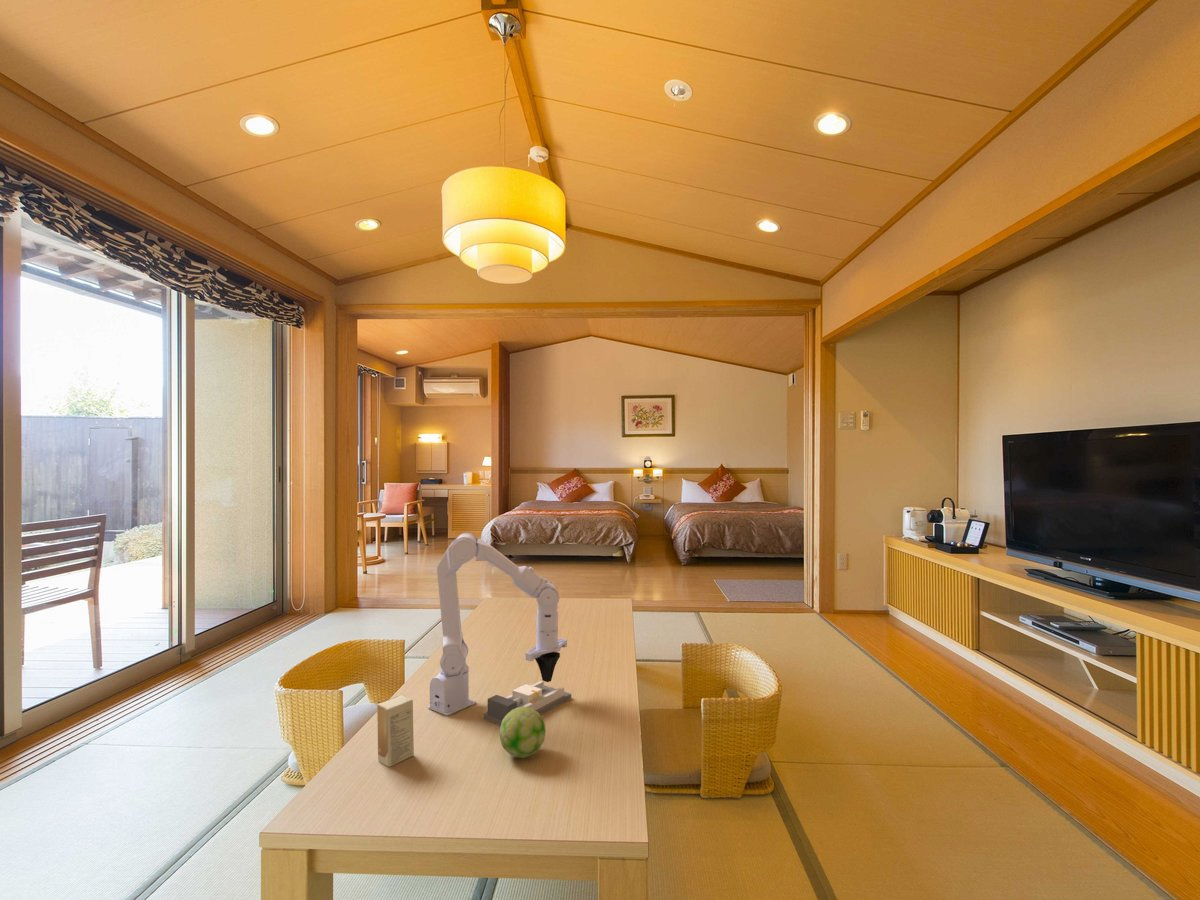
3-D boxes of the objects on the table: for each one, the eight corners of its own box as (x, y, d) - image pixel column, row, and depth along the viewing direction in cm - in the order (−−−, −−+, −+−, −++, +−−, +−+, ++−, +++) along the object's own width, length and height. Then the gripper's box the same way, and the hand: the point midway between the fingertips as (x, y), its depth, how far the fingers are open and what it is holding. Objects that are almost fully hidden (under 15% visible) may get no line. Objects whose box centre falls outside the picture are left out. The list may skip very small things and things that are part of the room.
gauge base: (512, 729, 136) (512, 707, 137) (483, 718, 142) (483, 697, 142) (571, 698, 154) (571, 678, 154) (543, 689, 160) (543, 670, 160)
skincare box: (403, 749, 127) (403, 693, 128) (414, 756, 125) (414, 698, 125) (376, 761, 122) (376, 703, 123) (387, 768, 120) (387, 708, 120)
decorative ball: (502, 770, 119) (502, 721, 119) (497, 747, 128) (497, 701, 128) (549, 763, 121) (549, 715, 122) (541, 741, 131) (541, 696, 131)
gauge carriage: (524, 715, 141) (524, 699, 141) (504, 708, 145) (504, 692, 145) (546, 704, 147) (546, 689, 147) (525, 697, 151) (525, 682, 151)
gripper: (540, 638, 146) (539, 693, 146) (575, 625, 158) (575, 675, 157) (519, 633, 150) (519, 686, 150) (556, 621, 162) (555, 670, 162)
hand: (546, 680), depth 154 cm, fingers closed
